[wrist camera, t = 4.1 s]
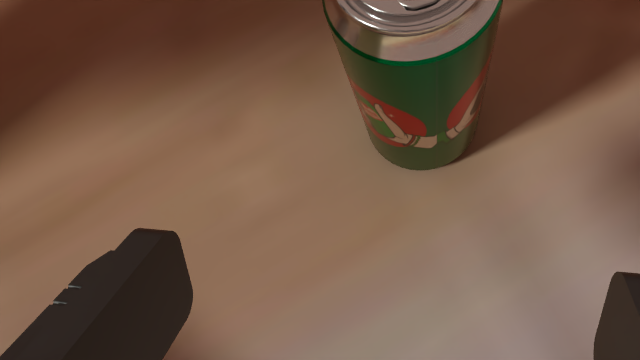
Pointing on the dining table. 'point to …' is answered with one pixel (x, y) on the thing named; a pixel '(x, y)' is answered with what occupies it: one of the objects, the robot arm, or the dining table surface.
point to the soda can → (416, 72)
